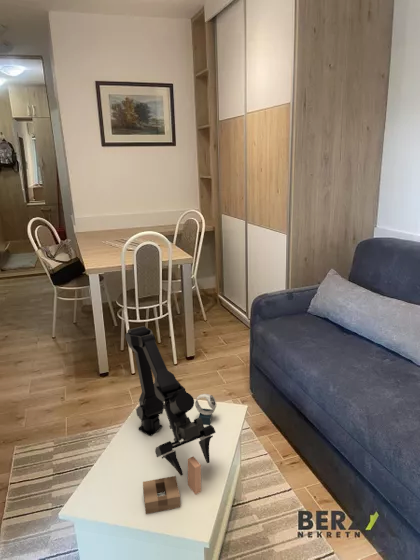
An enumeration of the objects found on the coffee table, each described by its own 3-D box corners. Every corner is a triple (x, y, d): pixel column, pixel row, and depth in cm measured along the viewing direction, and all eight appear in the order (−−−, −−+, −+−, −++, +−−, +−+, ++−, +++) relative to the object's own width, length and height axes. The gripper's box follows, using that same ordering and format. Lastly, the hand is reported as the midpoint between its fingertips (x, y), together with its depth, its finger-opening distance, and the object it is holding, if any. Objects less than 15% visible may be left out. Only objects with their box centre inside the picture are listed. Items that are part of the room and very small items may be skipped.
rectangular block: (188, 485, 127) (187, 458, 124) (193, 482, 128) (193, 456, 125) (195, 494, 123) (195, 467, 120) (201, 491, 124) (200, 465, 121)
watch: (215, 425, 154) (215, 400, 150) (194, 423, 155) (193, 398, 152) (217, 416, 159) (217, 392, 156) (197, 414, 160) (196, 390, 157)
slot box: (143, 492, 124) (142, 481, 123) (175, 486, 126) (175, 475, 125) (145, 514, 117) (145, 503, 116) (180, 507, 119) (180, 496, 118)
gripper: (157, 423, 117) (176, 479, 111) (212, 402, 126) (232, 453, 121) (147, 430, 126) (164, 482, 120) (199, 411, 135) (217, 458, 130)
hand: (195, 469), depth 123 cm, fingers open, 9 cm apart
